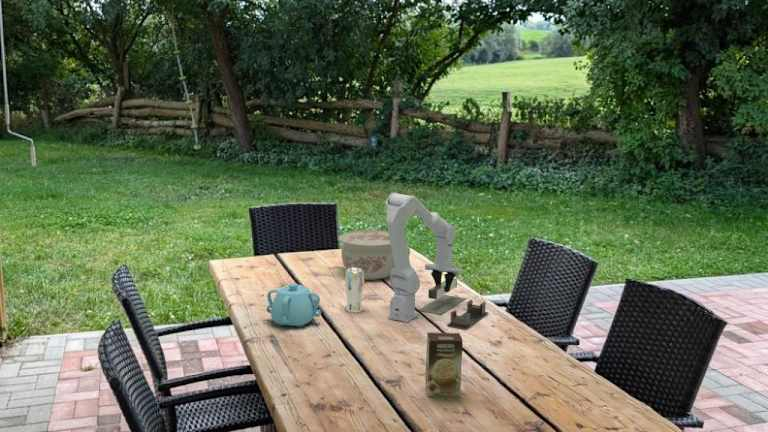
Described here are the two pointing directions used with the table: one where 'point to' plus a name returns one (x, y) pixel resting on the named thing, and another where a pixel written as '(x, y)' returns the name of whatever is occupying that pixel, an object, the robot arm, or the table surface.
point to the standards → (468, 316)
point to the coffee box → (443, 364)
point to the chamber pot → (368, 252)
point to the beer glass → (354, 289)
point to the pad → (442, 304)
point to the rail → (440, 289)
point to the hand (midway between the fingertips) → (443, 290)
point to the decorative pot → (293, 305)
